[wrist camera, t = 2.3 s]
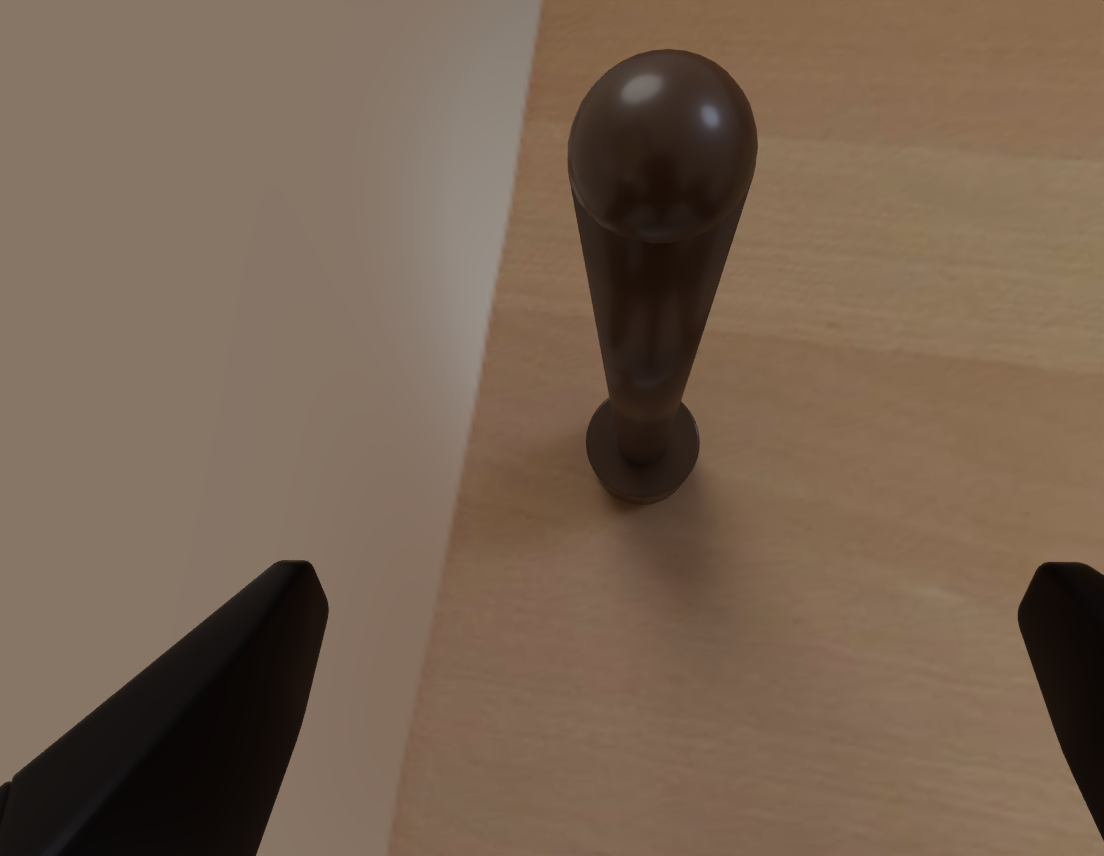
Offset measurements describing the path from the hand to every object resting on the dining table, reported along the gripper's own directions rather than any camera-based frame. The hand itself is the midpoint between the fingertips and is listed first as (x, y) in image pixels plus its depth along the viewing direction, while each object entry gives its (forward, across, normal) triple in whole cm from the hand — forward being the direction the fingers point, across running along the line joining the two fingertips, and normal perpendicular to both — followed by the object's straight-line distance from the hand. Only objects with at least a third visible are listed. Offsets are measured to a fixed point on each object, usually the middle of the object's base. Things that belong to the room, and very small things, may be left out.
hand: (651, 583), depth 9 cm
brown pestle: (+10, 0, +6) cm, 11 cm away
